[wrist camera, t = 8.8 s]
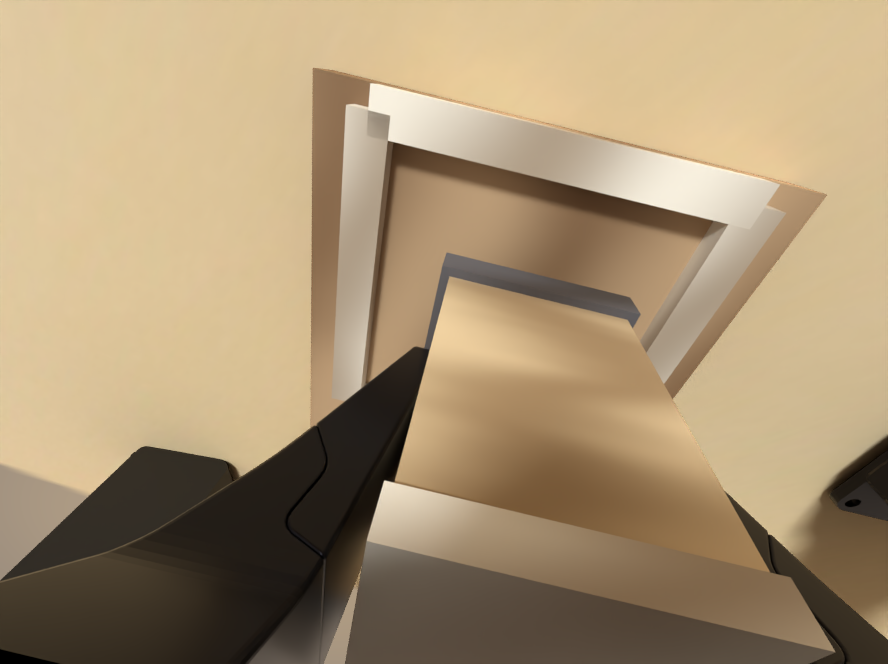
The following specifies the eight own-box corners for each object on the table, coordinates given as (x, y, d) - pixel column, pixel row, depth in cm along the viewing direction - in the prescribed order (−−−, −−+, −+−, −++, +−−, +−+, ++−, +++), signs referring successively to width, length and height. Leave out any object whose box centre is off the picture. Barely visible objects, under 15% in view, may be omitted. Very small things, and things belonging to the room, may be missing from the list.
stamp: (629, 297, 9) (857, 650, 3) (559, 424, 11) (619, 750, 6) (447, 252, 9) (356, 531, 3) (416, 389, 11) (335, 683, 6)
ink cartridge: (155, 471, 21) (-13, 652, 14) (142, 443, 19) (-50, 627, 13) (241, 488, 20) (110, 682, 14) (232, 462, 19) (85, 660, 12)
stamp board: (792, 184, 10) (862, 206, 8) (545, 540, 19) (550, 587, 18) (332, 70, 9) (292, 64, 8) (319, 486, 19) (301, 528, 17)
